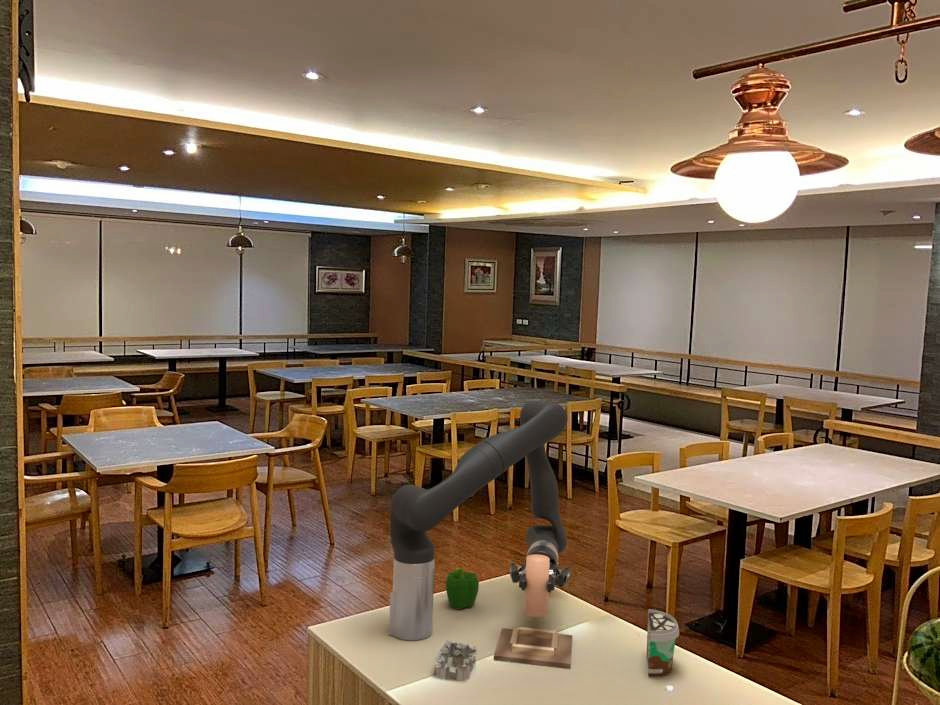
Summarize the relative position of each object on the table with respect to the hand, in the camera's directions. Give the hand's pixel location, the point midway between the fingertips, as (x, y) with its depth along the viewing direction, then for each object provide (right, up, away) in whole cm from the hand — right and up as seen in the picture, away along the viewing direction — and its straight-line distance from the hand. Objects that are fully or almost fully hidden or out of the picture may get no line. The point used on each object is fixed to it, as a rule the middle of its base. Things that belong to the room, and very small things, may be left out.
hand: (536, 586), depth 156 cm
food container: (+26, -16, -3) cm, 31 cm away
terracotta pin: (0, -6, +3) cm, 7 cm away
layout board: (0, -15, +3) cm, 15 cm away
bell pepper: (-17, -13, +26) cm, 34 cm away
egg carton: (-17, -15, -6) cm, 24 cm away
